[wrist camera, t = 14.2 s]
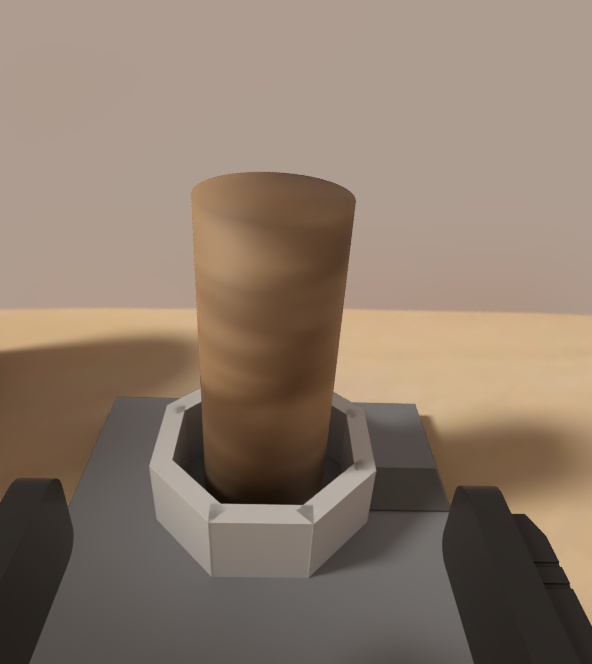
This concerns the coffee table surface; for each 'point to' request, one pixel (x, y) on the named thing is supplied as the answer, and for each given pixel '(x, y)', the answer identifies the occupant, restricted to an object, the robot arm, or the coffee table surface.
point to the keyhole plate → (255, 551)
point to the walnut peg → (268, 329)
